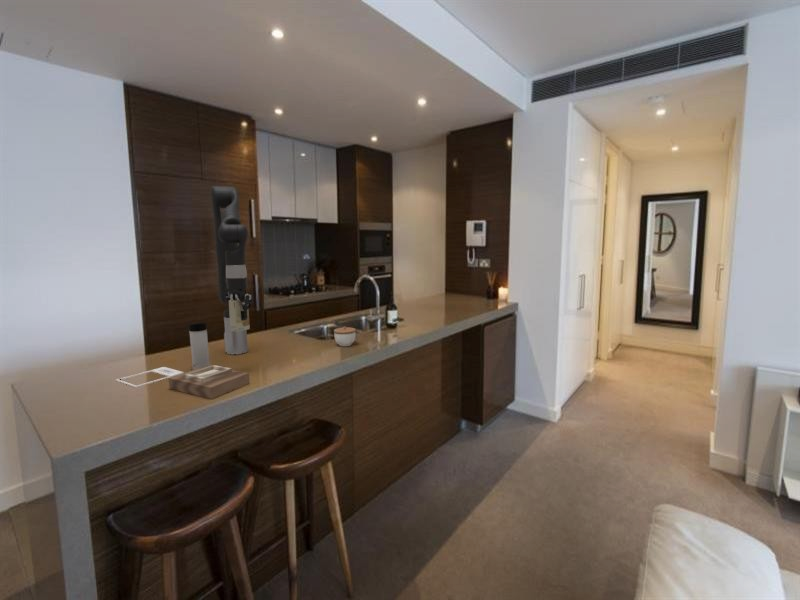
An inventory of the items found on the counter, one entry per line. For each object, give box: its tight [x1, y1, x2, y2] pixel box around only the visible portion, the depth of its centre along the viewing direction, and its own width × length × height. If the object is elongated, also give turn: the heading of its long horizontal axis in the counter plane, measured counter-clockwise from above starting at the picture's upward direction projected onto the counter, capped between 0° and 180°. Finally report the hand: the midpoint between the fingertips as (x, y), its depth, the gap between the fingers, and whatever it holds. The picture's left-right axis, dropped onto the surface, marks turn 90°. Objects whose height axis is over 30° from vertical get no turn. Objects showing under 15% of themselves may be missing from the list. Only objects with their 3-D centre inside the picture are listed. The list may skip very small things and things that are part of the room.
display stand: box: [167, 364, 250, 400], centre depth 145 cm, size 22×16×6 cm
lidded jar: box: [333, 325, 357, 347], centre depth 199 cm, size 11×11×9 cm
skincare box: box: [228, 300, 251, 332], centre depth 159 cm, size 6×4×12 cm
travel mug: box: [188, 322, 211, 370], centre depth 162 cm, size 6×7×20 cm
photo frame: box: [115, 366, 185, 389], centre depth 156 cm, size 15×1×18 cm
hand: (239, 319), depth 159 cm, fingers closed on skincare box, 4 cm apart
